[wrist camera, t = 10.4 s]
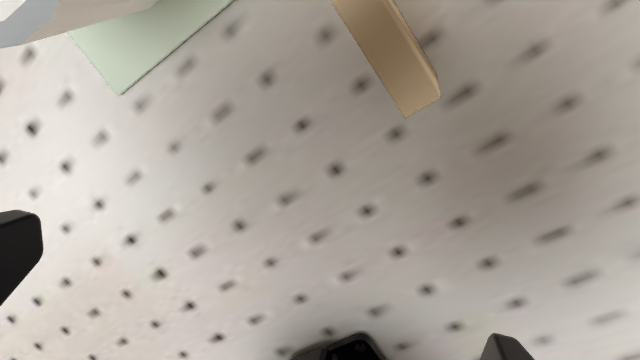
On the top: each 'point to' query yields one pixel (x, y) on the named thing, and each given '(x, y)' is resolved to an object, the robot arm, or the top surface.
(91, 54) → the pad
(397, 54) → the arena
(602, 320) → the top surface
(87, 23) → the white cup
